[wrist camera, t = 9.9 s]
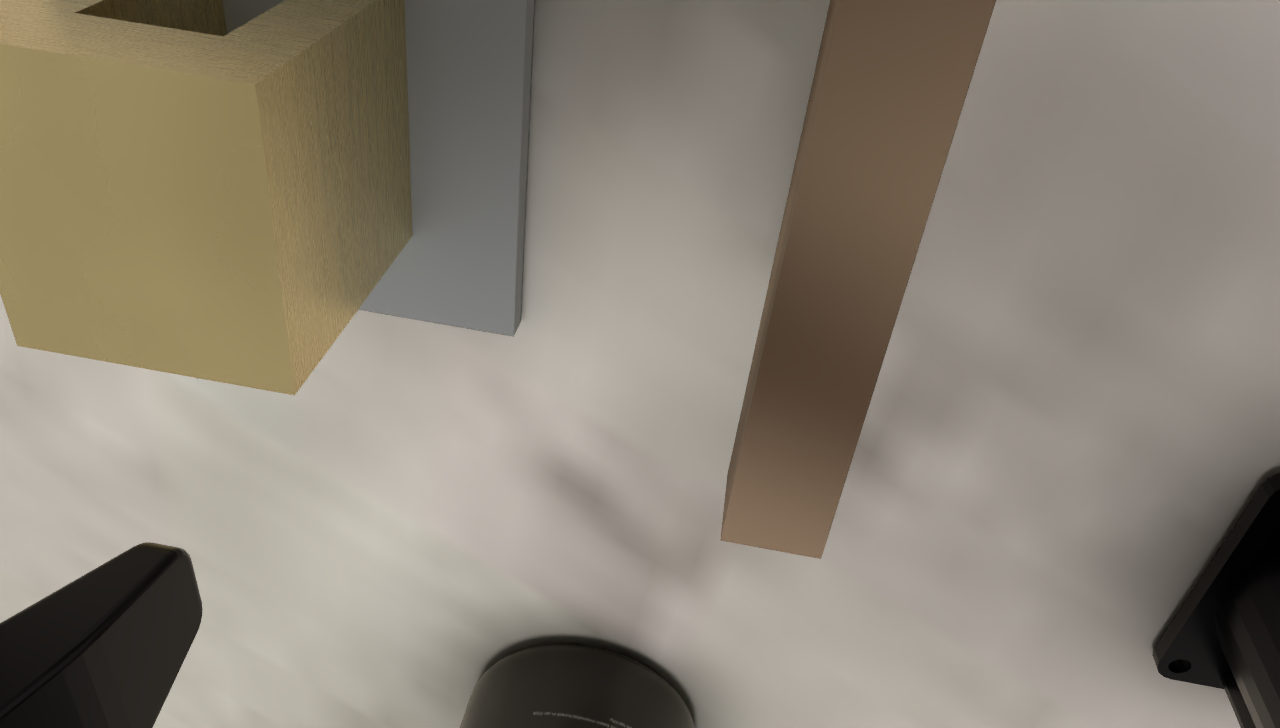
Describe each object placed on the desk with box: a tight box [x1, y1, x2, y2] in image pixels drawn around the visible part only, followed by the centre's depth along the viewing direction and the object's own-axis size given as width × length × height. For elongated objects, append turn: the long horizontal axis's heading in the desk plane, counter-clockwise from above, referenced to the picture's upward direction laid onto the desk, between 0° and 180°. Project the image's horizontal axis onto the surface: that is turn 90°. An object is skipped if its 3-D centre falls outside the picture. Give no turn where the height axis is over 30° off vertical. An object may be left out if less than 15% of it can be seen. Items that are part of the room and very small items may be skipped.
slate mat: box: [223, 0, 534, 337], centre depth 19 cm, size 9×9×1 cm
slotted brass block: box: [0, 0, 413, 395], centre depth 16 cm, size 5×5×6 cm
